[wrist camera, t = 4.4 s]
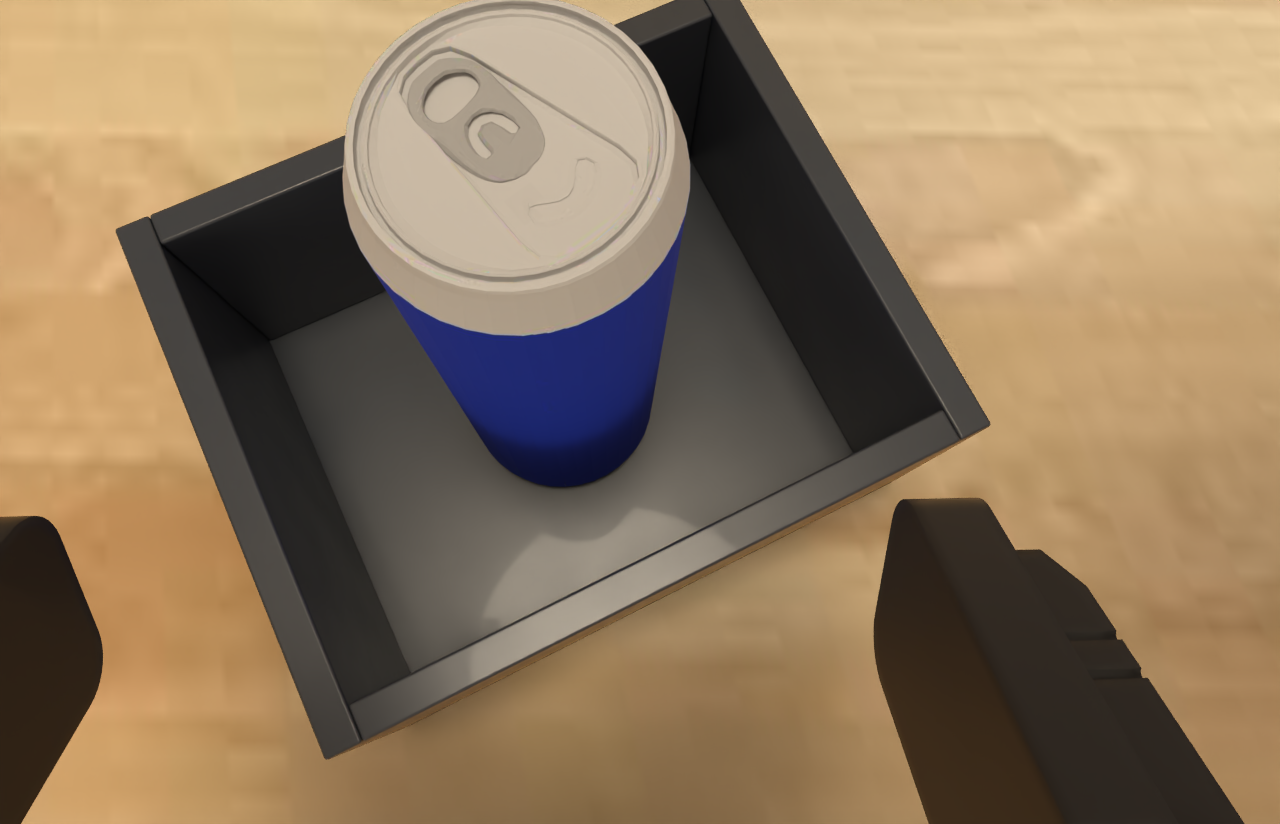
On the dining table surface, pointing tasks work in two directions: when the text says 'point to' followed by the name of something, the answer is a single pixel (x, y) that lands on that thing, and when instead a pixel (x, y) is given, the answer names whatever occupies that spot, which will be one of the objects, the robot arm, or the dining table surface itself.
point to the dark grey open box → (457, 457)
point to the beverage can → (525, 222)
